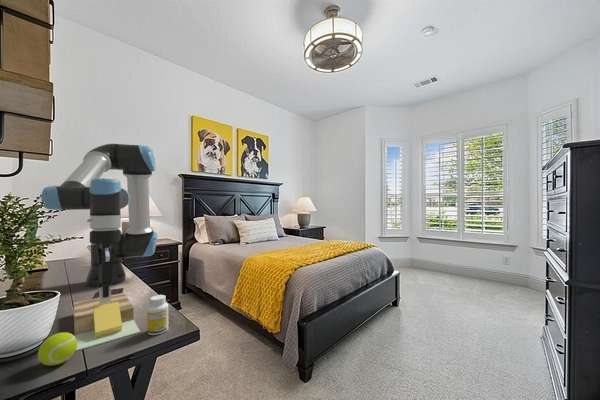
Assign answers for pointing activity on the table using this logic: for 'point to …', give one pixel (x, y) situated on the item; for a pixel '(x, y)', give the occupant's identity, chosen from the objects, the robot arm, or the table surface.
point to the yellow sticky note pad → (107, 319)
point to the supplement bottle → (157, 315)
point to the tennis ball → (57, 349)
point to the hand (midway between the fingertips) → (105, 307)
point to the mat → (105, 336)
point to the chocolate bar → (113, 292)
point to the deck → (85, 312)
